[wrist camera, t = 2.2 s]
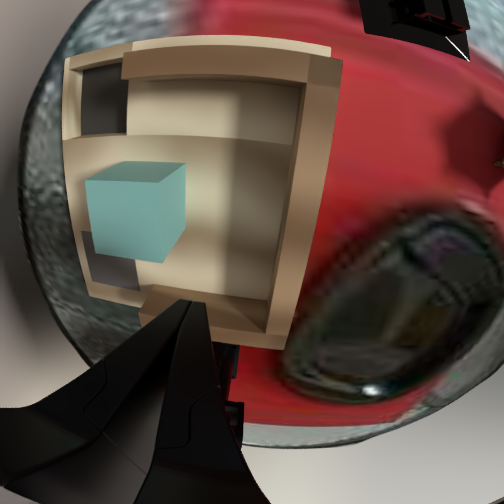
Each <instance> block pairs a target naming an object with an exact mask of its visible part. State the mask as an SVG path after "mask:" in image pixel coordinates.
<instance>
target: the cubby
mask: <svg viewBox="0 0 504 504" xmlns="http://www.w3.org/2000/svg"><path fill="white" fill-rule="evenodd" d="M342 66H343V60H340V59H335V58H331V57H326V56H321V55H316V54H311V53H305V52H299V51H292V50H285V49H277V48H267V47H256V46H240V45H188V46H173V47H161V48H152V49H144V50H137V51H131V52H125V53H124V54H123V63H122V73H121V79H124V80H135V81H144V82H158V81H178V80H218V81H239V82H252V83H263V84H272V85H280V86H287V87H294V88H300V92H299V100H298V107H297V115H296V122H295V130H294V137H293V144H292V151H291V158H290V165H289V172H288V178H287V185H286V192H285V198H284V205H283V211H282V217H281V223H280V230H279V236H278V242H277V248H276V254H275V260H274V266H273V271H272V277H271V283H270V289H269V294H268V300H260V299H252V298H244V297H237V296H229V295H222V294H215V293H208V292H202V291H195V290H189V289H182V288H176V287H170V286H164V285H158V284H154V286H153V288H152V290H151V291H150V293H149V295H148V297H147V298H146V300H145V302H144V304H143V305H142V307H141V309H140V311H139V312H138V314H139V318H140V322H141V327H143V326H145V325H146V324H147V323H149V322H150V321H151V320H152V319H154V318H155V317H156V316H158V315H159V314H160V313H161V312H163V311H164V310H165V309H167V308H168V307H169V306H170V305H172V304H173V303H174V302H176V301H177V300H178V299H180V298H182V299H188V300H192V302H193V301H201V302H205V303H206V308H207V314H208V321H209V327H210V333H211V339H212V341H216V342H223V343H229V344H237V345H244V346H252V347H261V348H270V349H280V350H284V347H285V344H286V340H287V337H288V333H289V330H290V326H291V323H292V319H293V315H294V312H295V308H296V304H297V300H298V297H299V293H300V289H301V285H302V281H303V277H304V273H305V269H306V265H307V261H308V256H309V252H310V248H311V243H312V239H313V235H314V230H315V226H316V221H317V216H318V212H319V207H320V202H321V197H322V192H323V187H324V182H325V177H326V171H327V166H328V160H329V155H330V149H331V143H332V137H333V131H334V125H335V118H336V111H337V105H338V97H339V90H340V82H341V74H342Z"/></svg>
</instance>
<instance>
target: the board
mask: <svg viewBox="0 0 504 504" xmlns="http://www.w3.org/2000/svg"><path fill="white" fill-rule="evenodd" d="M188 45H240V46H256V47H267V48H277V49H285V50H292V51H299V52H305V53H311V54H316V55H321V56H326V57H330V54H331V47H326V46H322V45H317V44H311V43H305V42H299V41H293V40H285V39H277V38H268V37H256V36H237V35H199V36H180V37H169V38H159V39H151V40H144V41H137V42H131V43H126V44H121V45H116V46H111V47H106V48H102V49H98V50H94V51H90V52H86V53H83V54H79V55H76V56H73V57H70V58H66V59H65V68H64V79H63V96H62V140H63V158H64V170H65V180H66V189H67V196H68V203H69V210H70V216H71V222H72V227H73V232H74V237H75V242H76V247H77V251H78V255H79V259H80V263H81V267H82V271H83V275H84V279H85V282H86V286H87V289H88V292H89V296H93V297H97V298H101V299H105V300H109V301H113V302H117V303H122V304H126V305H131V306H135V307H140V308H141V307H142V305H143V304H144V302H145V300H146V298H147V297H148V295H149V293H150V291H151V290H152V288H153V286H154V284H158V285H164V286H170V287H176V288H182V289H189V290H195V291H202V292H208V293H215V294H222V295H229V296H237V297H244V298H252V299H260V300H268V294H269V289H270V283H271V277H272V271H273V266H274V260H275V254H276V248H277V242H278V236H279V230H280V223H281V217H282V211H283V205H284V198H285V192H286V185H287V178H288V172H289V165H290V158H291V151H292V144H293V137H294V130H295V122H296V115H297V107H298V100H299V92H300V88H294V87H287V86H280V85H272V84H263V83H252V82H239V81H218V80H178V81H158V82H144V81H135V80H124V79H121V73H122V63H123V54H124V53H125V52H131V51H137V50H144V49H152V48H161V47H173V46H188ZM123 161H154V162H177V163H186V199H185V230H184V231H183V233H182V234H181V236H180V237H179V239H178V240H177V242H176V243H175V245H174V246H173V248H172V249H171V251H170V252H169V254H168V256H167V257H166V259H165V260H164V262H163V263H162V264H161V263H155V262H148V261H142V260H135V259H129V258H123V257H117V256H111V255H104V254H99V253H96V252H95V247H94V242H93V237H92V231H91V225H90V219H89V212H88V204H87V196H86V187H85V180H86V179H88V178H90V177H92V176H94V175H96V174H98V173H100V172H102V171H104V170H106V169H108V168H110V167H112V166H114V165H116V164H118V163H120V162H123Z"/></svg>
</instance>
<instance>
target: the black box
mask: <svg viewBox="0 0 504 504" xmlns="http://www.w3.org/2000/svg"><path fill="white" fill-rule="evenodd" d="M359 2H360V7H361V13H362V19H363V25H364V31H365V33H366V34H371V35H377V36H383V37H388V38H393V39H398V40H402V41H406V42H410V43H414V44H418V45H422V46H425V47H429V48H432V49H435V50H438V51H442V52H445V53H447V54H450V55H453V56H456V57H459V58H461V59H464V60H466V61H470V56H469V48H468V41H467V35H466V30H469V29H470V25H469V20H468V16H467V12H466V8H465V4H464V0H359Z"/></svg>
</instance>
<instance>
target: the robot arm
mask: <svg viewBox="0 0 504 504" xmlns="http://www.w3.org/2000/svg"><path fill="white" fill-rule="evenodd" d="M234 345H235V346H234ZM239 348H240V345H237V344H229V343H223V342H216V341H212V339H211V333H210V327H209V321H208V314H207V308H206V303H205V302H201V301H193V302H192V300H188V299H182V298H180V299H178V300H177V301H176V302H174V303H173V304H172V305H170V306H169V307H168V308H167V309H165V310H164V311H163V312H161V313H160V314H159V315H158V316H156V317H155V318H154V319H152V320H151V321H150V322H149V323H147V324H146V325H145V326H143V327H142V328H141V329H140V330H138V331H137V332H136V333H135V334H133V335H132V336H131V337H129V338H128V339H127V340H126V341H124V342H123V343H122V344H120V345H119V346H118V347H117V348H115V349H114V350H113V351H112V352H110V353H109V354H108V355H106V356H105V357H104V359H101V360H100V361H99V362H97V363H96V364H95V365H94V366H92V367H91V368H90V369H88V370H87V371H86V372H84V373H83V374H82V375H80V376H79V377H77V378H76V379H74V380H73V381H71V382H69V383H68V384H66V385H65V386H63V387H61V388H60V389H58V390H57V391H55V392H53V393H52V394H50V395H48V396H47V397H45V398H43V399H42V400H40V401H38V402H37V403H35V404H32V405H29V406H26V407H21V408H0V504H271V503H270V502H269V500H268V499H267V498H266V496H265V495H264V493H263V492H262V491H261V489H260V488H259V486H258V484H257V483H256V481H255V479H254V477H253V475H252V473H251V471H250V469H249V467H248V465H247V463H246V461H245V459H244V456H243V454H242V452H241V447H242V441H243V424H244V402H233V401H228V397H229V391H230V384H231V379H235V378H236V374H237V365H238V357H239ZM490 504H504V497H502V498H500V499H498V500H496V501H494V502H492V503H490Z"/></svg>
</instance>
